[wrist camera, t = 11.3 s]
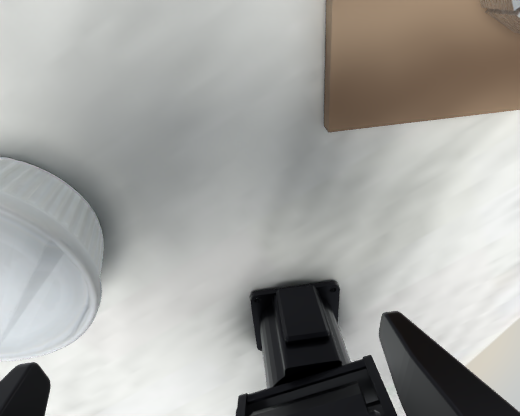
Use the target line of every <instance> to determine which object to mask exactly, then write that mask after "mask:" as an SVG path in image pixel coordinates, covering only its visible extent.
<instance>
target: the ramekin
mask: <svg viewBox="0 0 520 416" xmlns="http://www.w3.org/2000/svg"><path fill="white" fill-rule="evenodd" d="M103 253H104V239H103V235H102V229H101V226H100V224H99V220H98V218H97V216H96V214H95V212H94V210H93V209H92V208H91V206H90V205H89V203H88V202H87V201H86V200H85V199H84V198H83V197H82V196H81V195H80V194H79V193H78V192H77V191H76V190H75V189H74V188H72V187H71V186H70V185H69V184H67V183H66V182H65V181H63V180H62V179H60V178H58V177H57V176H55V175H53V174H51V173H50V172H48V171H46V170H44V169H41V168H39V167H36V166H34V165H31V164H28V163H26V162H22V161H17V160H14V159H11V158H5V157H0V361H14V360H23V359H29V358H34V357H39V356H42V355H46V354H49V353H52V352H54V351H57V350H59V349H61V348H63V347H66V346H67V345H69V344H71V343H72V342H74V341H75V340H77V339H78V338H79V337H80V336H81V335H82V334H83V333H84V332H85V331H86V330H87V329H88V328H89V326H90V325H91V324H92V322H93V320H94V318H95V316H96V313H97V311H98V308H99V305H100V301H101V293H102V287H101V279H100V275H101V269H102V261H103Z"/></svg>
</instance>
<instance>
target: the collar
mask: <svg viewBox="0 0 520 416" xmlns="http://www.w3.org/2000/svg"><path fill="white" fill-rule="evenodd" d="M480 2H481V6H482V8H488V9H487V10H486V12H485V13H487V14H488V15H490V16H491V17H493V18H494V19H496V20H497V21H498V22H500V23H501V24H503V25H504V26H506V27H507V28H509V29H510V30H511V31H513V32H514V33H519V34H520V0H480Z"/></svg>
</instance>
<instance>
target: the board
mask: <svg viewBox="0 0 520 416" xmlns="http://www.w3.org/2000/svg"><path fill="white" fill-rule="evenodd" d="M487 9H488V8H482V6H481V2H480V0H326V45H325V94H324V126H325V128H326V129H327V131H328V132H335V131H344V130H352V129H361V128H369V127H378V126H386V125H395V124H403V123H411V122H420V121H428V120H437V119H445V118H454V117H462V116H470V115H479V114H487V113H496V112H504V111H513V110H520V34H519V33H514V32H513V31H511V30H510V29H509V28H507V27H506V26H504V25H503V24H501V23H500V22H498V21H497V20H496V19H494V18H493V17H491V16H490V15H488V14H487V13H485V12H486V10H487Z"/></svg>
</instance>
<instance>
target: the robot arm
mask: <svg viewBox="0 0 520 416" xmlns="http://www.w3.org/2000/svg"><path fill="white" fill-rule="evenodd" d="M339 292H340V288H339V285H338V283H337V282H335V281H328V282H321V283H314V284H306V285H299V286H292V287H284V288H277V289H270V290H262V291H256V292H253V293H252V294H251V295H250V300H251V307H252V314H253V321H254V328H255V335H256V342H257V348H258V350H260V351H263V359H264V367H265V375H266V383H267V389H264V390H261V391H258V392H255V393H251V394H247V393H246V394H243V395H240V396H239V398H238V407H237V410H236V416H397V414H396V411H395V409H394V407H393V404H392V402H391V400H390V397H389V395H388V393H387V391H386V388H385V386H384V384H383V381H382V379H381V377H380V374H379V372H378V370H377V368H376V365H375V363H374V361H373V358H372V356H371V355H368V356H365V357H363V359H361V360H358V361H354V362H351V361H350V359H349V356H348V353H347V350H346V347H345V344H344V341H343V339H342V336H341V333H340V330H339V327H338V308H339ZM256 298H258V299H256ZM379 338H380V342H381V345H382V348H383V351H384V354H385V357H386V360H387V363H388V366H389V370H390V373H391V376H392V379H393V382H394V385H395V388H396V391H397V394H398V397H399V399H400V402H401V404H402V407H403V409H404V411H405V413H406V416H520V412H518V411H517V410H516V409H515V408H514V407H513V406H512V405H510V404H509V403H508V402H507V401H506V400H504V399H503V398H502V397H501V396H500V395H498V394H497V393H496V392H494V390H492V389H491V388H490V387H489V386H488V385H486V384H485V383H484V382H483V381H482V380H480V379H479V378H478V377H477V376H476V375H474V374H473V373H472V372H471V371H470V370H469V369H467V368H466V367H465V366H464V365H463V364H461V363H460V362H459V361H458V360H457V359H455V358H454V357H453V356H452V355H451V354H449V353H448V352H447V351H446V350H445V349H443V348H442V347H441V346H440V345H439V344H437V343H436V342H435V341H434V340H433V339H431V338H430V337H429V336H428V335H427V334H425V333H424V332H423V331H422V330H421V329H420V328H418V327H417V326H416V325H415V324H414V323H412V322H411V321H410V320H409V319H408V318H406V317H405V316H404V315H403V314H402V313H400V312H398V311H392V312H385V313H383V314H382V317H381V323H380V328H379ZM49 392H50V380H49V378H48V377H47V375H46V374H45V373H44V371H43V370H42V369H41V367H40V366H39V365H38V364H37V363H35V362H32V363H25V364H20V365H18V366H16V367H15V368H14V369H12V370H11V371H10V372H9V373H8V374H7V375H6V376H5V377H4V378H3V379H2V380H1V381H0V416H45V411H46V407H47V402H48V397H49Z"/></svg>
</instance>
